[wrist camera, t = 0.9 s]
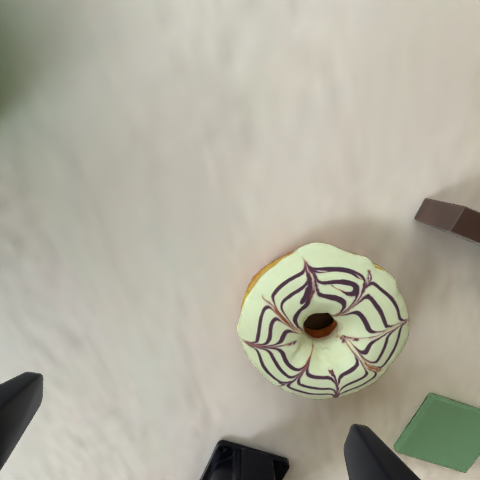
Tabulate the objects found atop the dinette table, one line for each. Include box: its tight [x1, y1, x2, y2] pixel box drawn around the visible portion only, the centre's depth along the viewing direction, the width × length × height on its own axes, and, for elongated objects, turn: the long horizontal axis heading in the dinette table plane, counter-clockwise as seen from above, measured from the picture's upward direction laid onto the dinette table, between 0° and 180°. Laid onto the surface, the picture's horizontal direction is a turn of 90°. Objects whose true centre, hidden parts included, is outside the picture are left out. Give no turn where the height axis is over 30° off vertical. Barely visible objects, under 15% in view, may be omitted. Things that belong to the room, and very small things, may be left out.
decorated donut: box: [237, 242, 409, 399], centre depth 19 cm, size 10×11×4 cm
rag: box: [394, 393, 480, 473], centre depth 24 cm, size 6×7×1 cm
